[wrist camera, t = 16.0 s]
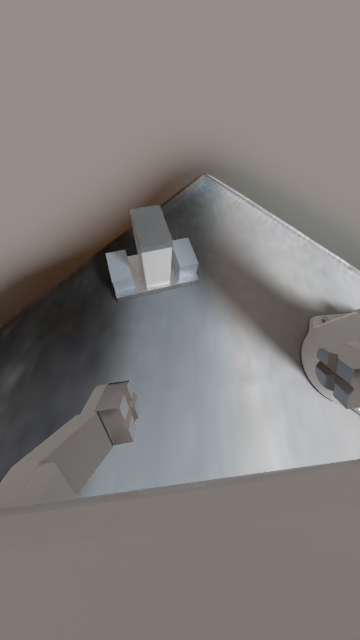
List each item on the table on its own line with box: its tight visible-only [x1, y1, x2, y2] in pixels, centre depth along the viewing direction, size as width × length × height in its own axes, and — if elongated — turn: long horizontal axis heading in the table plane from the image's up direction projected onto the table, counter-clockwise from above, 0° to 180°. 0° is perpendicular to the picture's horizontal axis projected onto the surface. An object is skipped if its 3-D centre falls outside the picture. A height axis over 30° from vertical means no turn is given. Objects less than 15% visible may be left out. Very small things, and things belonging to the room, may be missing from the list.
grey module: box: [129, 205, 173, 288], centre depth 33 cm, size 5×7×11 cm, turn 17°
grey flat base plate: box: [114, 254, 199, 302], centre depth 39 cm, size 16×8×2 cm, turn 107°
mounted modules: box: [105, 238, 199, 292], centre depth 36 cm, size 16×6×4 cm, turn 107°
